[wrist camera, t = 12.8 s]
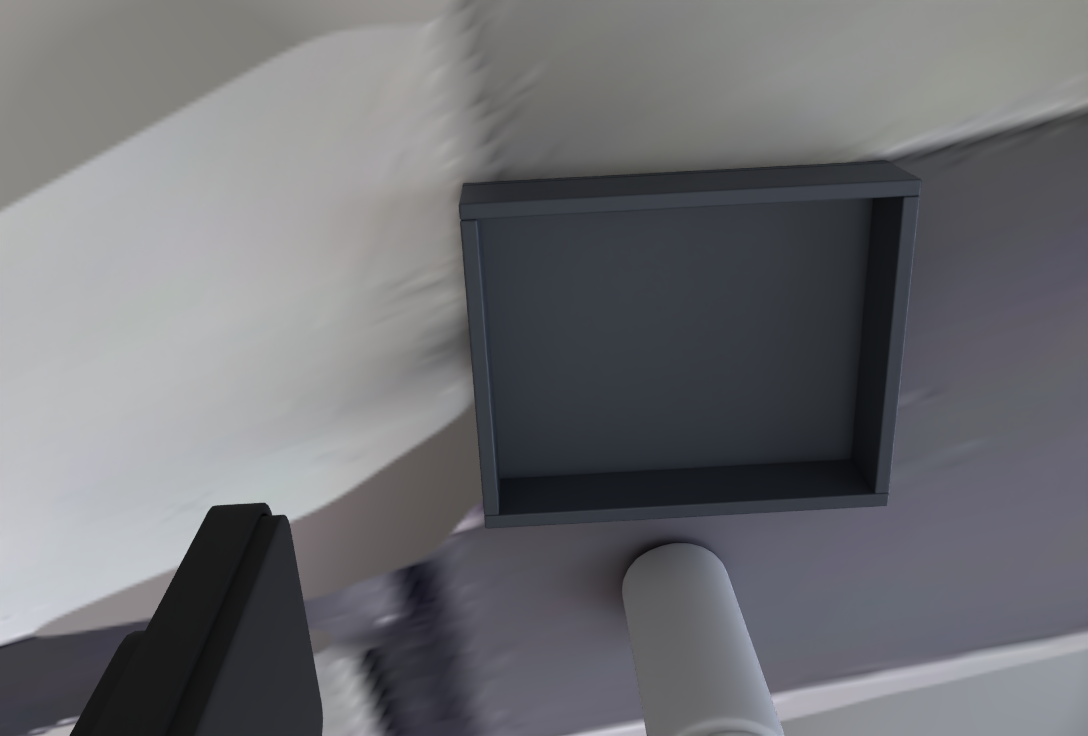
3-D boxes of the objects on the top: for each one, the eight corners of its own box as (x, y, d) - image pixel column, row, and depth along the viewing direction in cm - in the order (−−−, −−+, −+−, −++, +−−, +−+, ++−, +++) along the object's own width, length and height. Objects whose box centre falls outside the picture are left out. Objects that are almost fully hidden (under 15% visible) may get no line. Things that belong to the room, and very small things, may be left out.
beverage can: (598, 585, 44) (627, 794, 33) (672, 515, 43) (728, 708, 32) (674, 641, 46) (726, 859, 35) (748, 574, 44) (827, 780, 33)
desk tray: (463, 183, 37) (458, 203, 34) (887, 160, 37) (922, 178, 34) (487, 486, 42) (485, 529, 39) (860, 465, 42) (888, 506, 39)
